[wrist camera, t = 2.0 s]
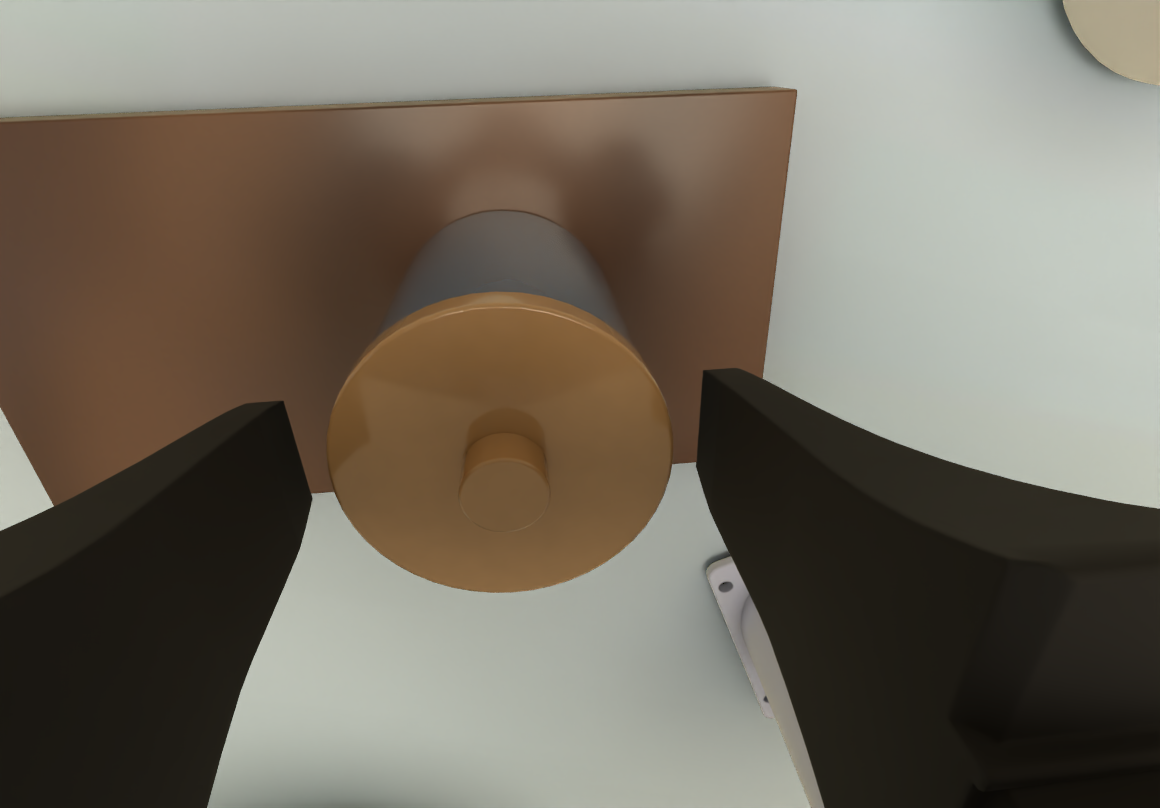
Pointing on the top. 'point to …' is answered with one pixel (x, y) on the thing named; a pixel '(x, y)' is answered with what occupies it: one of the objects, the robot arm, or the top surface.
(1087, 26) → the mug
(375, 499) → the sugar pot
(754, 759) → the top surface
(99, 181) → the cutting board
